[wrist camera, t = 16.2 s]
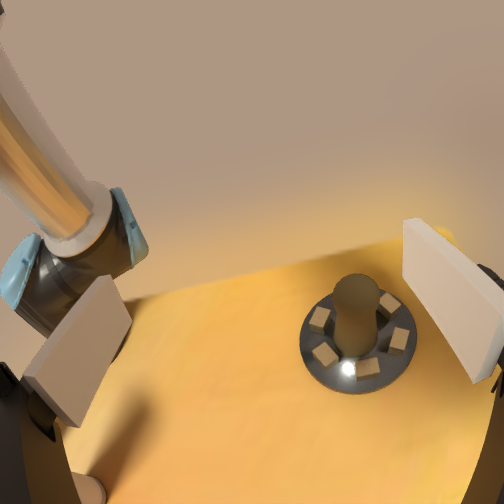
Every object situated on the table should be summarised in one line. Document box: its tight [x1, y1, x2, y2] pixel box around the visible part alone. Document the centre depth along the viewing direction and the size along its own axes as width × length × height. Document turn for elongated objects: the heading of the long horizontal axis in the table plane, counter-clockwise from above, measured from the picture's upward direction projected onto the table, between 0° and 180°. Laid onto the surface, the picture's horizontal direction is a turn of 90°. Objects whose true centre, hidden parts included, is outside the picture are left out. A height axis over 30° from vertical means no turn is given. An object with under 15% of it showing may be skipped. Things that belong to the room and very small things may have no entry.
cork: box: [332, 274, 380, 358], centre depth 32 cm, size 6×6×11 cm
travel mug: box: [71, 472, 106, 504], centre depth 20 cm, size 6×7×20 cm
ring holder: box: [300, 289, 417, 395], centre depth 36 cm, size 16×16×3 cm
